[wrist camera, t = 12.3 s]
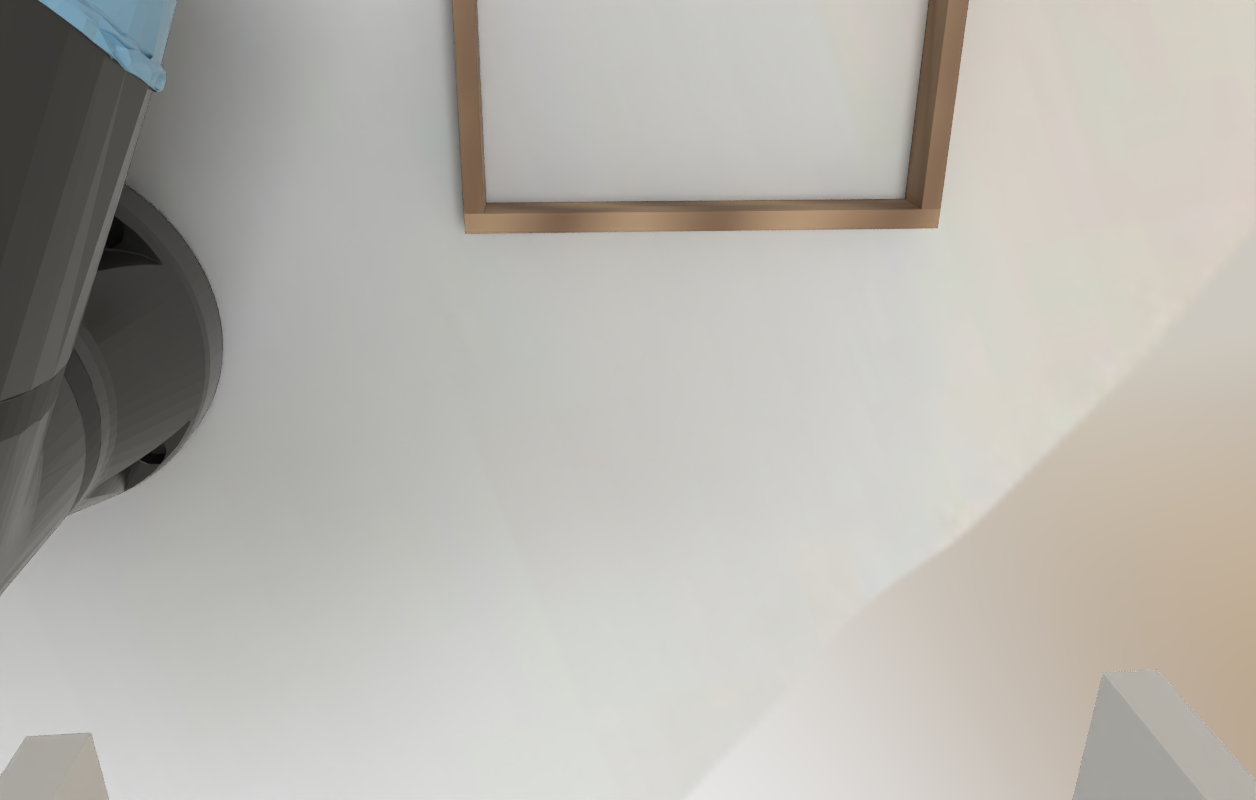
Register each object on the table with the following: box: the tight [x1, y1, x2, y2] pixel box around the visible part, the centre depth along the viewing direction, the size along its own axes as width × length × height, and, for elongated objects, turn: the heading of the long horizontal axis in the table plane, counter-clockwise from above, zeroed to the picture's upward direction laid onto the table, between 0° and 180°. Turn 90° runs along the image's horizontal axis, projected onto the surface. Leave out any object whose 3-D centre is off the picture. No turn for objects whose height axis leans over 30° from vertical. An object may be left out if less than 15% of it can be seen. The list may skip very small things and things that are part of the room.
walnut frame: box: [452, 0, 969, 234], centre depth 39 cm, size 20×14×2 cm
